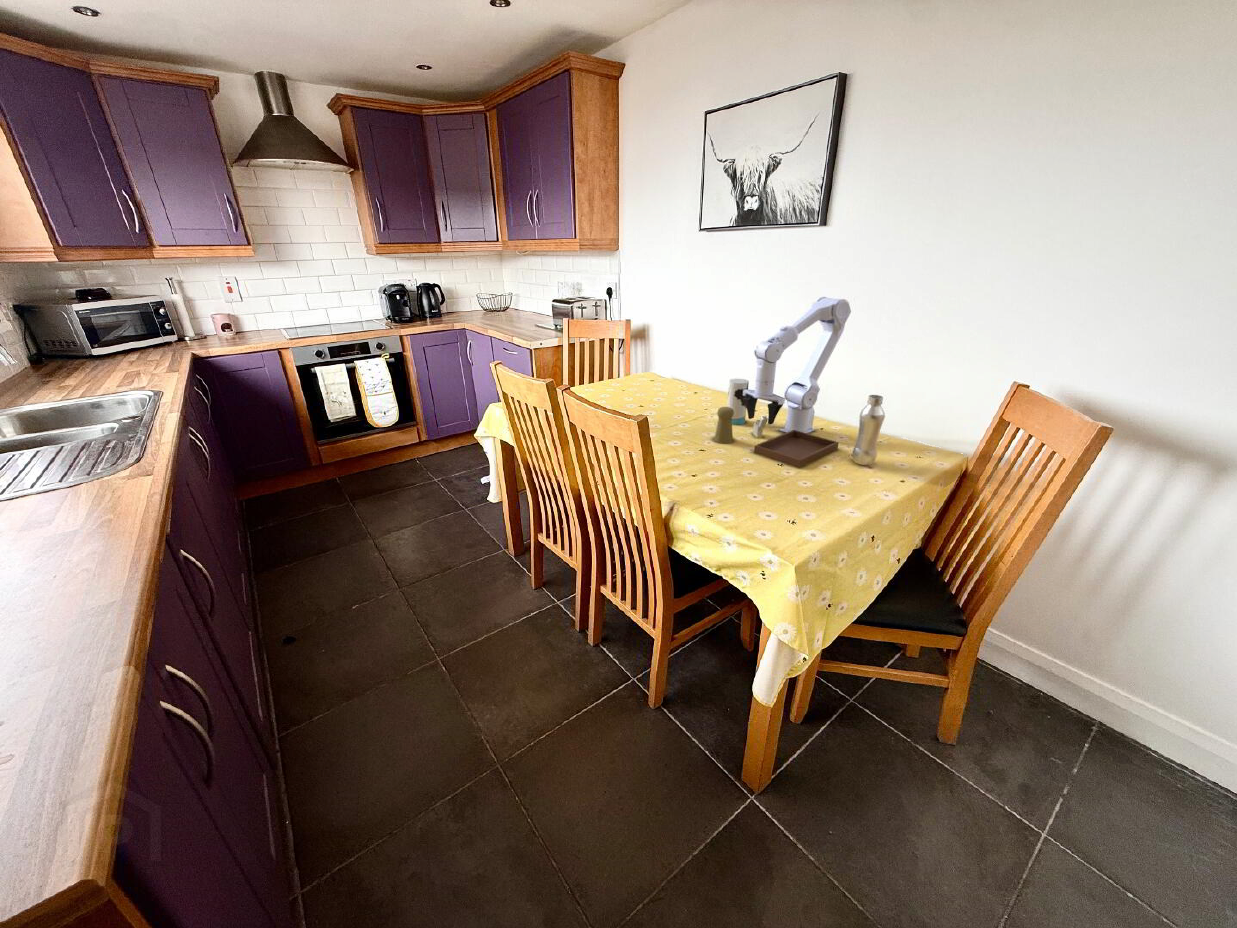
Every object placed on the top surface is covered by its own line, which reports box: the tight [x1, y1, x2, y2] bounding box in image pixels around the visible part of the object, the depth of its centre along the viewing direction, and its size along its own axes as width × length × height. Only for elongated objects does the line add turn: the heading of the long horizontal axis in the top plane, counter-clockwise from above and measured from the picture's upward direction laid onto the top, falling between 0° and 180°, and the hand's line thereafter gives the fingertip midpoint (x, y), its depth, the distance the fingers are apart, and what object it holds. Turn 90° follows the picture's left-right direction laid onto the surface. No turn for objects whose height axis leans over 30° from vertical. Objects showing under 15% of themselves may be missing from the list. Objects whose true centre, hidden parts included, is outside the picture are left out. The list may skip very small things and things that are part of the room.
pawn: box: [713, 406, 734, 444], centre depth 162 cm, size 6×6×11 cm
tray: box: [753, 430, 839, 469], centre depth 154 cm, size 22×16×2 cm
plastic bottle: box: [851, 394, 886, 466], centre depth 141 cm, size 6×7×20 cm
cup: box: [726, 378, 750, 426], centre depth 178 cm, size 7×7×15 cm
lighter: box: [752, 415, 768, 439], centre depth 164 cm, size 7×2×8 cm, turn 5°
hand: (760, 421), depth 164 cm, fingers open, 7 cm apart
